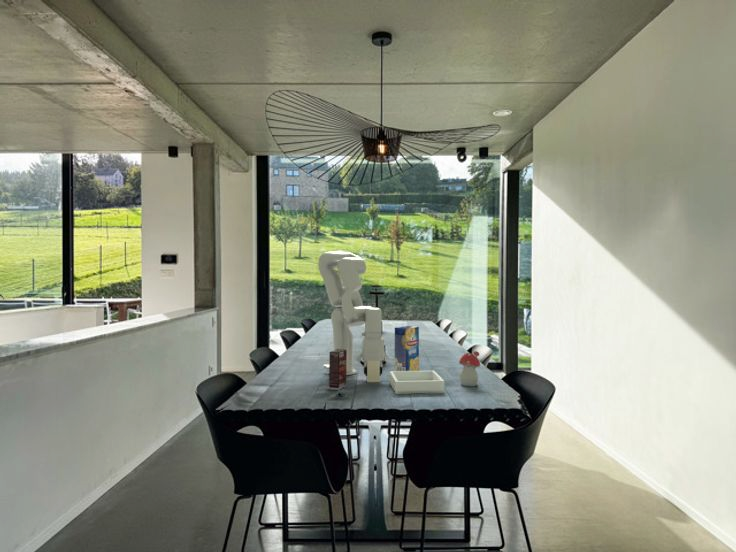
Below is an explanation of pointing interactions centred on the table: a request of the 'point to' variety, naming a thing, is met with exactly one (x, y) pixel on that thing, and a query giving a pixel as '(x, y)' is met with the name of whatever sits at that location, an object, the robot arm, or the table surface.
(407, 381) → the tray
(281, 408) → the table surface
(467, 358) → the decorative ornament
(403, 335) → the blue cardboard box
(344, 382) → the supplement box
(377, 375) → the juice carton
